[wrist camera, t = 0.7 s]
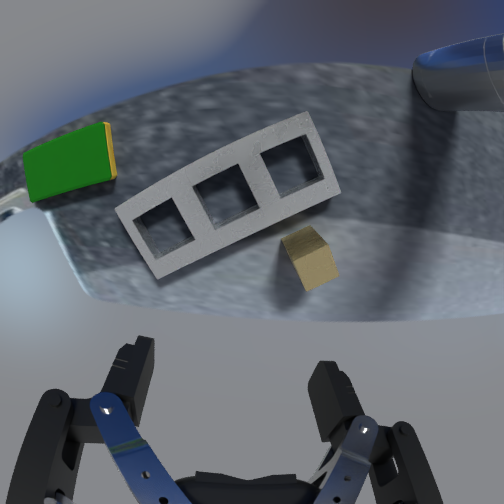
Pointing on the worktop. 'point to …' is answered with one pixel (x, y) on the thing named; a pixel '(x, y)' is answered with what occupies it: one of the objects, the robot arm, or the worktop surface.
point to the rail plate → (244, 223)
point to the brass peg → (310, 257)
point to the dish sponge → (70, 162)
